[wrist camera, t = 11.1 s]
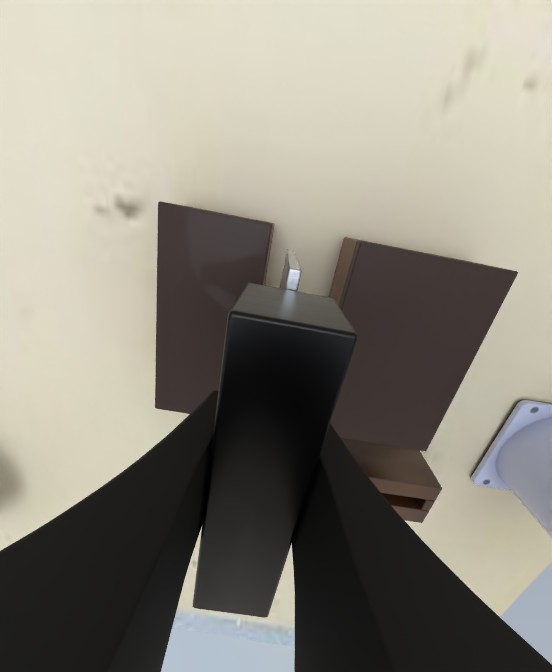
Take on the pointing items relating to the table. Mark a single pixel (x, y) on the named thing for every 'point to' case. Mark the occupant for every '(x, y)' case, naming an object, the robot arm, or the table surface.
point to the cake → (409, 337)
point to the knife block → (398, 476)
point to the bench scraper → (267, 436)
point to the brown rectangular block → (200, 295)
